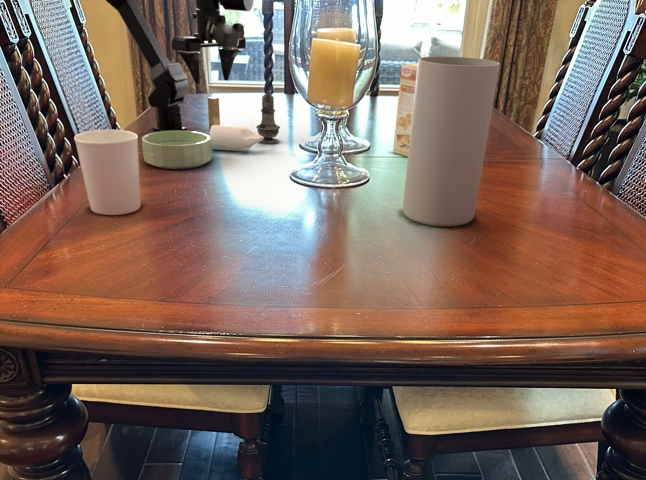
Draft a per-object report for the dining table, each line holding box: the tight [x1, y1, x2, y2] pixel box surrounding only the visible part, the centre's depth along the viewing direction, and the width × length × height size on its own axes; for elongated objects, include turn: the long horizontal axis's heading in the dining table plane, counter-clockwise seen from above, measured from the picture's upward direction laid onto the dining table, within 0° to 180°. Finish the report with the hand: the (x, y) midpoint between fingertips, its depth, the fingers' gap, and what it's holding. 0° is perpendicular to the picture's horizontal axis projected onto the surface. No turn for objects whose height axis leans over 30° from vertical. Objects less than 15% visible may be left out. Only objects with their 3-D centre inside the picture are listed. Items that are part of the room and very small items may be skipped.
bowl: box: [141, 130, 212, 170], centre depth 131 cm, size 14×14×5 cm
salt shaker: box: [255, 89, 281, 145], centre depth 148 cm, size 6×6×12 cm
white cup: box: [73, 129, 142, 216], centre depth 102 cm, size 10×10×12 cm
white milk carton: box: [208, 124, 264, 152], centre depth 141 cm, size 6×12×6 cm, turn 83°
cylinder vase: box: [402, 55, 501, 228], centre depth 101 cm, size 12×12×25 cm
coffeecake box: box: [392, 63, 418, 158], centre depth 143 cm, size 15×7×20 cm, turn 131°
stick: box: [207, 96, 221, 134], centre depth 153 cm, size 2×2×9 cm
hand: (212, 81), depth 149 cm, fingers open, 9 cm apart
